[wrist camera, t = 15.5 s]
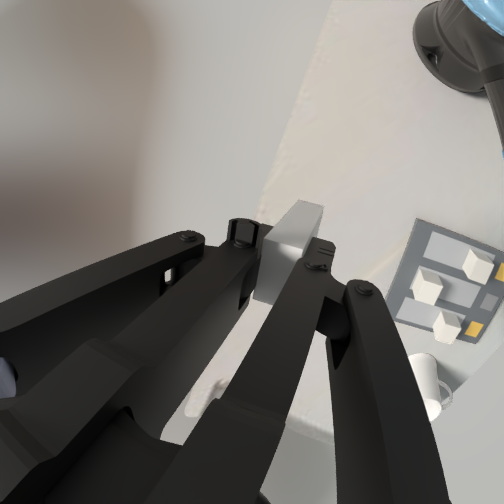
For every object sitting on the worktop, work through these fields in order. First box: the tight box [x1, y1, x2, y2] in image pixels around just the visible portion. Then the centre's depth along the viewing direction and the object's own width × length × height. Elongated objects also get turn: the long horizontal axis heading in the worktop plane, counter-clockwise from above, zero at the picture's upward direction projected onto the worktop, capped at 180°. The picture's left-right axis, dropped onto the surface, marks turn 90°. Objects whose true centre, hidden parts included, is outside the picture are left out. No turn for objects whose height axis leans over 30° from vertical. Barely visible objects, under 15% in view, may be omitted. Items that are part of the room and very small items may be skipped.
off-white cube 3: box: [432, 311, 461, 345], centre depth 42 cm, size 4×4×4 cm
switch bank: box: [385, 218, 504, 344], centre depth 42 cm, size 18×22×1 cm
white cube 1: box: [462, 248, 494, 285], centre depth 36 cm, size 4×4×4 cm
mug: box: [408, 353, 453, 422], centre depth 45 cm, size 12×9×12 cm
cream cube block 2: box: [412, 269, 443, 306], centre depth 41 cm, size 4×4×4 cm
